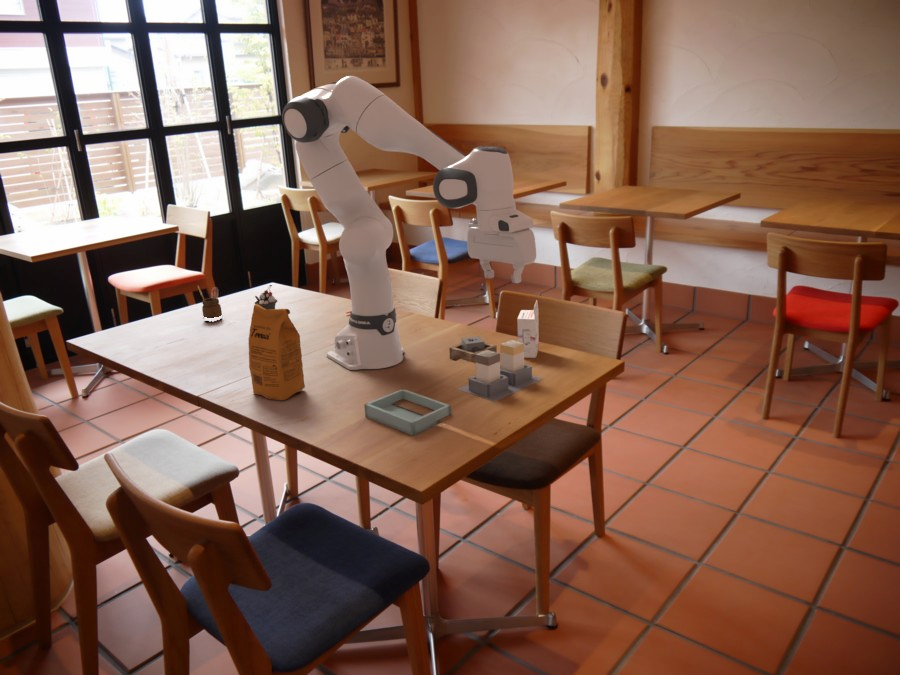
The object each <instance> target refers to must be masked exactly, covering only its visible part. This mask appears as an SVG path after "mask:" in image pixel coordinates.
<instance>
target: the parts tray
mask: <svg viewBox="0 0 900 675" xmlns="http://www.w3.org/2000/svg"><path fill="white" fill-rule="evenodd" d="M400 400H405V401H409V402H411V403H414V404H416V405H419V406H423V407H424V408H427V409H431V410H434V411H431V412H429V413H426V414H421V413H419V412H416V411H413V410H411V409H408V408H405V407H402V406H401V405H400V406H399V405H398V404H395V403H396V402H398V401H400ZM364 413H365V414H364V416H365V417H366V418H367V419H371V420H374V421H376V422H378V423H380V424H383V425H385V426H387V427H391V428H392V429H395V430H398V431H400V432H402V433H405V434H408V435H410V436H412V437H413V436H416V435H419V434H420V433H422V432H425V431H426V430H428V429H430V428H431V429H432V428H433V427H435V426H437V425H439V424H441V423H443V422H442V421H440V420H441V419H443V418H445V417H448V416H450V415H452V406H451V404H448V403H445V402H441V401H439V400H436V399H434V398H430V397H428V396H425V395H422V394H419V393H416V392H413V391H410V390H408V389H405V388H401V389H398V390H396V391H393V392H392V393H389V394H386V395H384V396H381V397H379V398H377V399H373V400H372V401H369V402H366V403H365V404H364Z"/></svg>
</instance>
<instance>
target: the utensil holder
mask: <svg viewBox="0 0 900 675" xmlns="http://www.w3.org/2000/svg"><path fill="white" fill-rule="evenodd" d="M197 290H198V292H199V293H200V296H201V297H202V299H203V300H202V302H201V303H202V308H201V309H202V310H201V311H202V317H203V316H204V317H207V318H214V317H219V316H221V315H222V316H223V313H222V312H223V311H222V307H221V304H220V301H219V297H216V296H219V289H218V287H212V289H211V291H210V292H211V295H210V296H211V297H209V298H205V297H204V295H203V292H202V290H201V288H200V285H197ZM213 290H217V293H214V294H213ZM213 296H214V297H213ZM204 317H203V318H204Z"/></svg>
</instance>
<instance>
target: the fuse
mask: <svg viewBox="0 0 900 675" xmlns="http://www.w3.org/2000/svg"><path fill="white" fill-rule="evenodd" d="M499 344H500V345H499V346H500V348H499V349H500V350H499V351H500V352H499V353H500V364H501V369H503V370H507V371H510V372H517V371H519V370H521V369H523V368H524V364H525V357H524V343H521V342H518V340H512V339H511V340H508V341H505V342H503V343H499Z"/></svg>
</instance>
